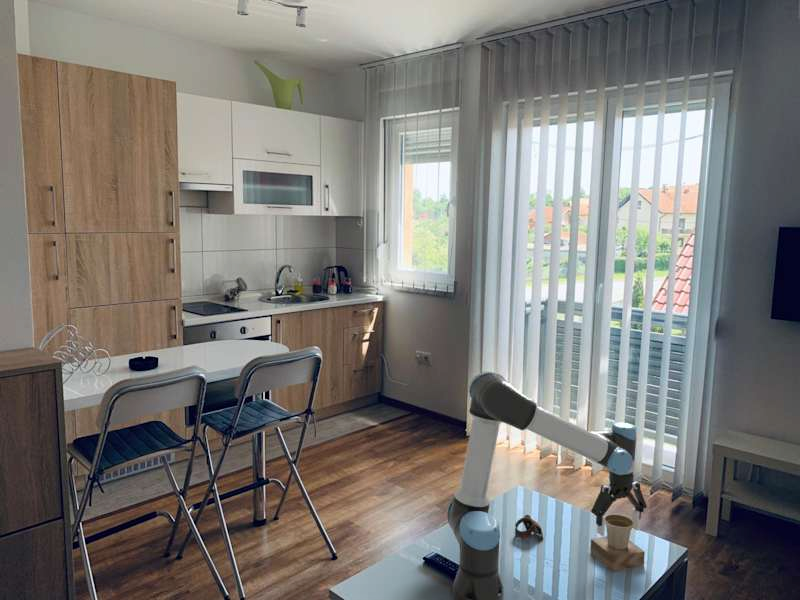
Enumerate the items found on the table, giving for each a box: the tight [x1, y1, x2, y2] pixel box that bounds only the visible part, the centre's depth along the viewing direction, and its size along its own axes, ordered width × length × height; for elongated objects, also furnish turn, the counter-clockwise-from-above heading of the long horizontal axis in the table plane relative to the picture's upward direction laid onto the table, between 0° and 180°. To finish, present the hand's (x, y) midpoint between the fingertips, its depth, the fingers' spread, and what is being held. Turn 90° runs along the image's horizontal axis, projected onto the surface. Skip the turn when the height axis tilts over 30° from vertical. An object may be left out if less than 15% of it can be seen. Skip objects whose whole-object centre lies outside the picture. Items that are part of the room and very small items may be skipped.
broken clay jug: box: [514, 514, 544, 541], centre depth 213 cm, size 12×10×8 cm
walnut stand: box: [590, 535, 645, 573], centre depth 199 cm, size 12×12×5 cm
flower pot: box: [604, 513, 634, 550], centre depth 198 cm, size 9×9×9 cm
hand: (617, 531), depth 198 cm, fingers open, 13 cm apart
